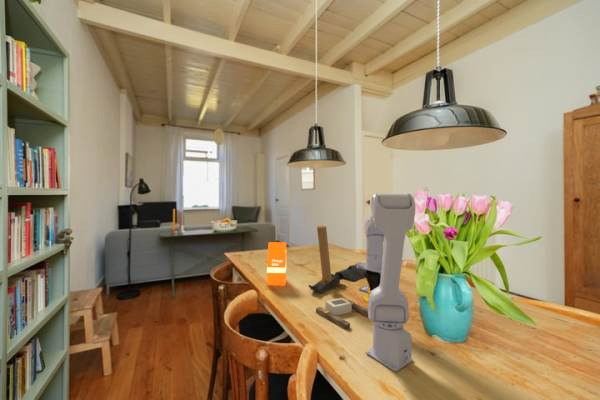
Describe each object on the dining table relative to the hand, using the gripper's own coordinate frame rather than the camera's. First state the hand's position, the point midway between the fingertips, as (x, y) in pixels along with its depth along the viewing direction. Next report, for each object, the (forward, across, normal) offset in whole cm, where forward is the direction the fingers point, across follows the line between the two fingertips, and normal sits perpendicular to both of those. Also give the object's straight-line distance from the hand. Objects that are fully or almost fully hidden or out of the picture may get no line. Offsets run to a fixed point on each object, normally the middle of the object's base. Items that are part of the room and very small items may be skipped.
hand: (373, 292), depth 90 cm
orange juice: (+10, +52, +8) cm, 53 cm away
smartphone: (+10, +15, -22) cm, 28 cm away
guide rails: (+9, +8, +5) cm, 14 cm away
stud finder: (+10, +12, +5) cm, 16 cm away
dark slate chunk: (+10, +39, -34) cm, 53 cm away
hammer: (+10, +32, -7) cm, 34 cm away
